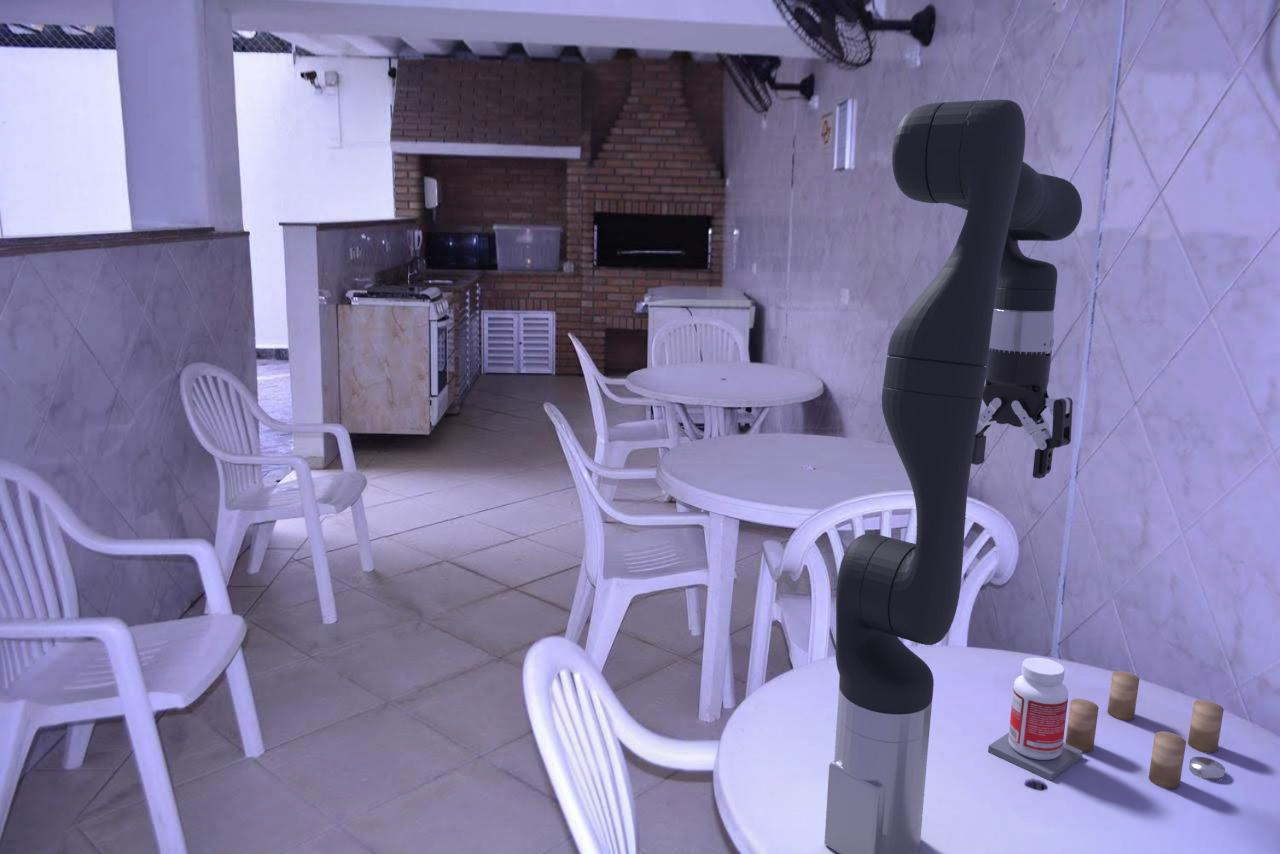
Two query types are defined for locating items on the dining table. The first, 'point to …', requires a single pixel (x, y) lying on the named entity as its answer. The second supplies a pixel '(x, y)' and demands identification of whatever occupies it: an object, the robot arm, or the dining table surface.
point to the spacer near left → (1167, 760)
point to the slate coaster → (1039, 767)
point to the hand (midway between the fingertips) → (1007, 470)
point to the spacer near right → (1082, 724)
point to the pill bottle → (1039, 710)
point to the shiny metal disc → (1207, 768)
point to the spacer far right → (1123, 695)
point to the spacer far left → (1205, 726)
